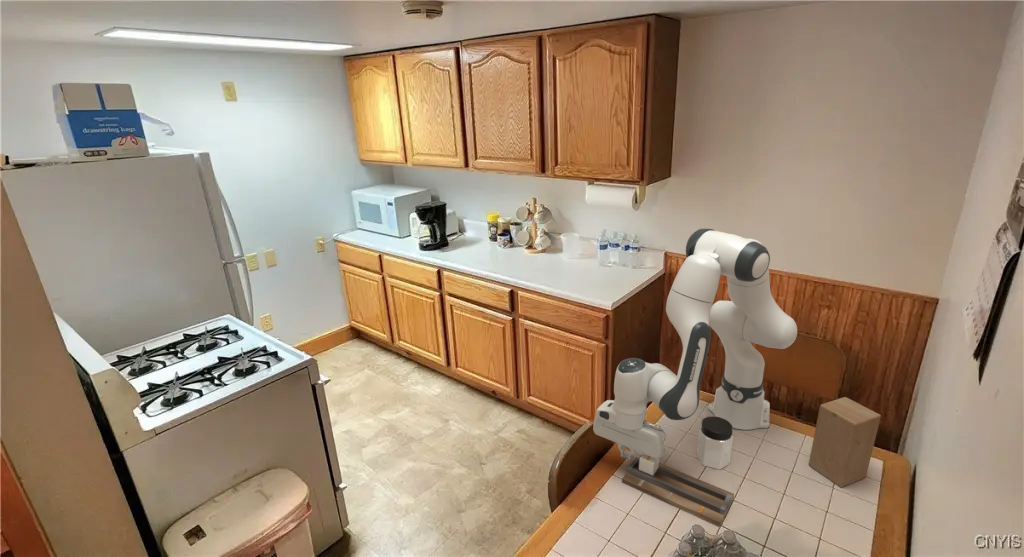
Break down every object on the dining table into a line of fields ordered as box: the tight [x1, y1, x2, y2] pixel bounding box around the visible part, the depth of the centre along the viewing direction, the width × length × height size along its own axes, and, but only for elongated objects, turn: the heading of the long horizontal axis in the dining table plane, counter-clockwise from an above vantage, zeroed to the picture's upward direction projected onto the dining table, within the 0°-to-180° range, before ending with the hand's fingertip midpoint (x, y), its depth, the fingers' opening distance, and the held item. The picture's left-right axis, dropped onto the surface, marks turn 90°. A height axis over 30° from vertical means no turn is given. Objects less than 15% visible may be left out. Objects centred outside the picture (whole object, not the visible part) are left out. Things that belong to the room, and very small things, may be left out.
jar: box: [696, 415, 734, 470], centre depth 143 cm, size 9×8×12 cm
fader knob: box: [639, 453, 660, 477], centre depth 137 cm, size 4×4×6 cm
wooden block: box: [808, 396, 882, 488], centre depth 135 cm, size 10×10×20 cm
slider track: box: [621, 455, 735, 528], centre depth 133 cm, size 12×26×3 cm, turn 52°
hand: (626, 457), depth 141 cm, fingers closed
